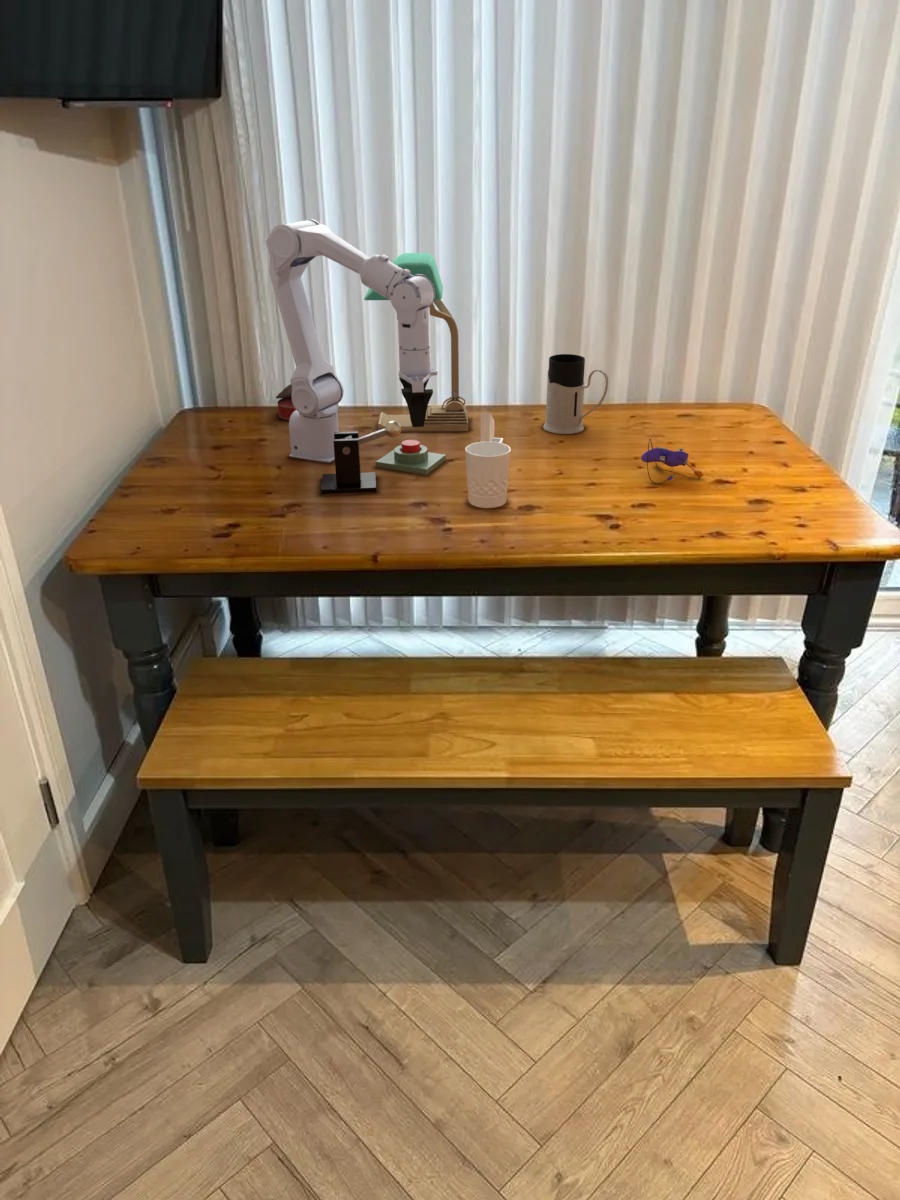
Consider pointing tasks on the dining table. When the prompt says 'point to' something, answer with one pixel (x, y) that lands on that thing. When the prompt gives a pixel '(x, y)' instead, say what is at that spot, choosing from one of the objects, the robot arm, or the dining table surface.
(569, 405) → the glass holder
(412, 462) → the switch box
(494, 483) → the white cup
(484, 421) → the white wedge bracket
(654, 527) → the dining table surface
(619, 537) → the dining table surface
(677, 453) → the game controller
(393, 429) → the lever
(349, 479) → the switch bracket
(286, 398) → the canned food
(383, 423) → the banker's lamp
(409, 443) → the button
